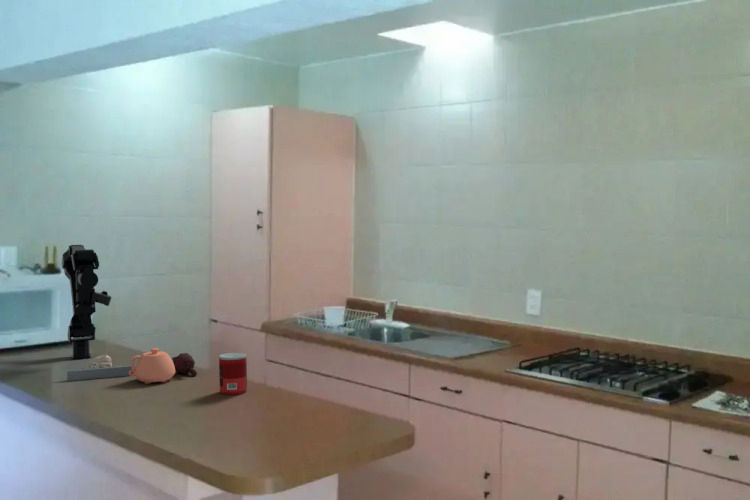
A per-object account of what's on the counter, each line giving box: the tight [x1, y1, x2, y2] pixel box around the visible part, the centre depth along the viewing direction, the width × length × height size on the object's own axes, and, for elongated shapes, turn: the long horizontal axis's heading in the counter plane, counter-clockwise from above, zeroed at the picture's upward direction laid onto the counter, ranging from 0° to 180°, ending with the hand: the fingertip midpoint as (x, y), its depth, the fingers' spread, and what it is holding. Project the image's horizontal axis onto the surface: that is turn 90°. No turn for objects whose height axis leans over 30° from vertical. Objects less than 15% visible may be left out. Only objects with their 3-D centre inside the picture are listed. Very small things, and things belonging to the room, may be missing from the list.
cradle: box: [66, 364, 133, 382], centre depth 237 cm, size 6×20×3 cm, turn 112°
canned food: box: [218, 352, 248, 396], centre depth 215 cm, size 8×8×11 cm
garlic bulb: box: [88, 350, 113, 369], centre depth 239 cm, size 7×6×8 cm
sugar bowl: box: [129, 347, 176, 385], centre depth 230 cm, size 12×14×10 cm
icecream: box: [171, 352, 198, 377], centre depth 240 cm, size 7×7×15 cm
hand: (86, 330), depth 254 cm, fingers closed
